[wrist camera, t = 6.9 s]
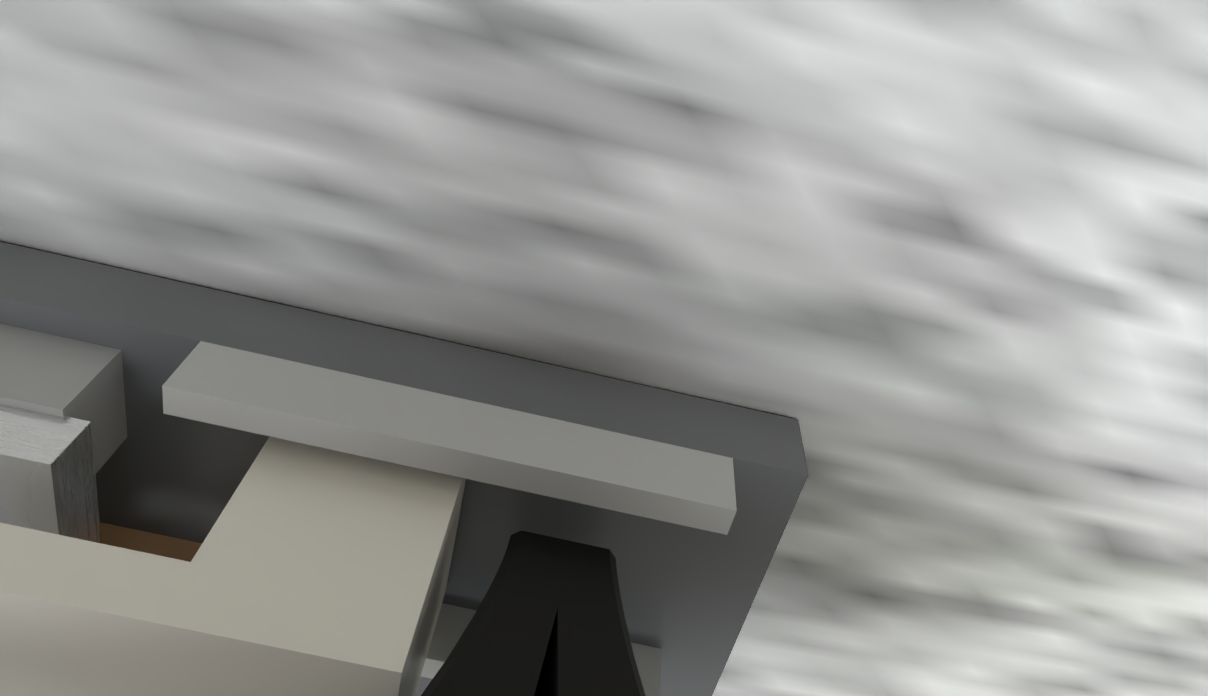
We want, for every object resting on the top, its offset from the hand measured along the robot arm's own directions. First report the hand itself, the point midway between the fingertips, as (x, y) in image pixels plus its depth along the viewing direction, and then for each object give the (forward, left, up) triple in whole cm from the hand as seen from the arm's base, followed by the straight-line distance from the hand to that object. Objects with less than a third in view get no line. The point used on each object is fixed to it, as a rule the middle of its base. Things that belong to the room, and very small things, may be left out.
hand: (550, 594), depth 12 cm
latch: (0, +4, -1) cm, 4 cm away
